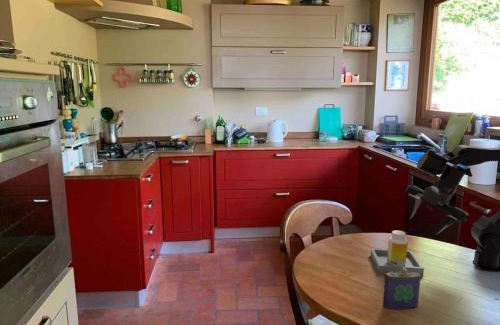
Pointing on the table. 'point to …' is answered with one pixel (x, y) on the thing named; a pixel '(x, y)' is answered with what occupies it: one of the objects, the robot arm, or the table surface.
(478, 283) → the table surface
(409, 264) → the tray
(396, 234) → the supplement bottle
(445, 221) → the robot arm
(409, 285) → the blue hip flask
